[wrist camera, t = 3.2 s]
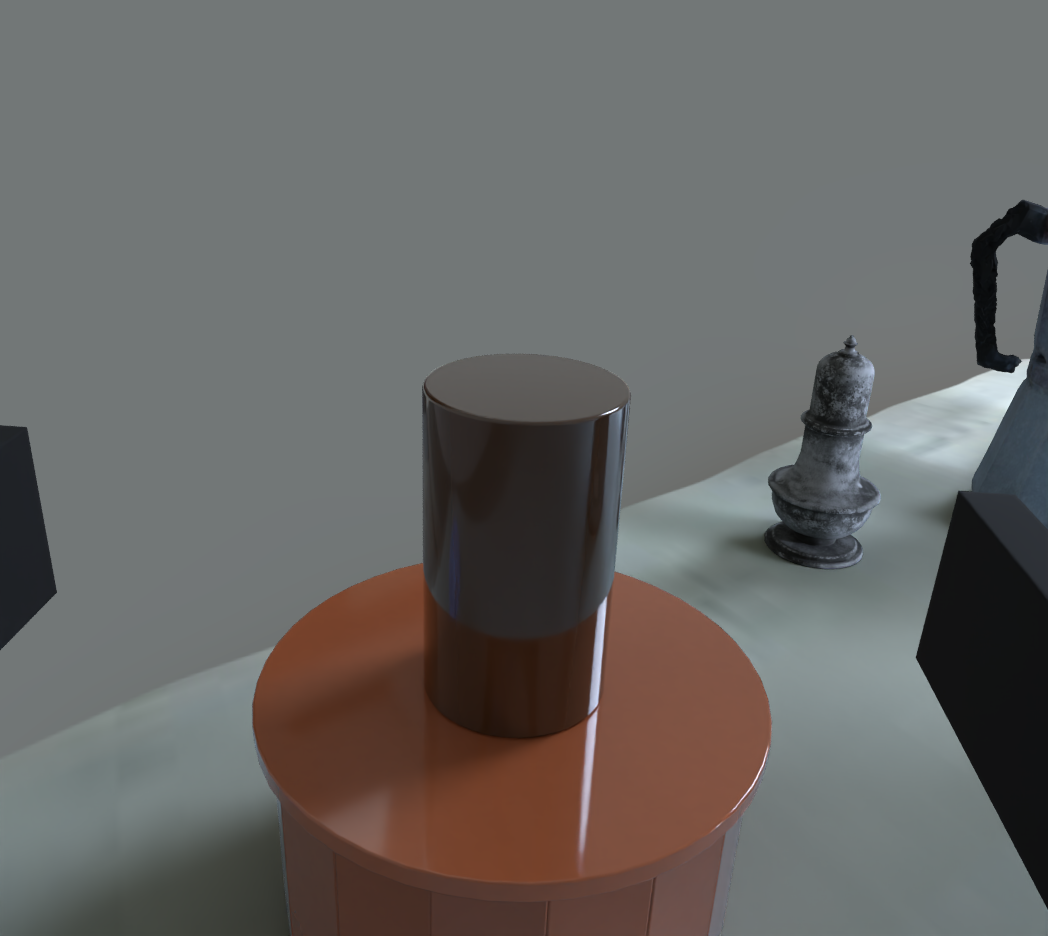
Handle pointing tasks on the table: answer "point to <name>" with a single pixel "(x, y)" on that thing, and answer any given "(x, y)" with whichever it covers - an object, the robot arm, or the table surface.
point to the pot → (491, 926)
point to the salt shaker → (827, 470)
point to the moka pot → (1043, 397)
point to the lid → (514, 669)
